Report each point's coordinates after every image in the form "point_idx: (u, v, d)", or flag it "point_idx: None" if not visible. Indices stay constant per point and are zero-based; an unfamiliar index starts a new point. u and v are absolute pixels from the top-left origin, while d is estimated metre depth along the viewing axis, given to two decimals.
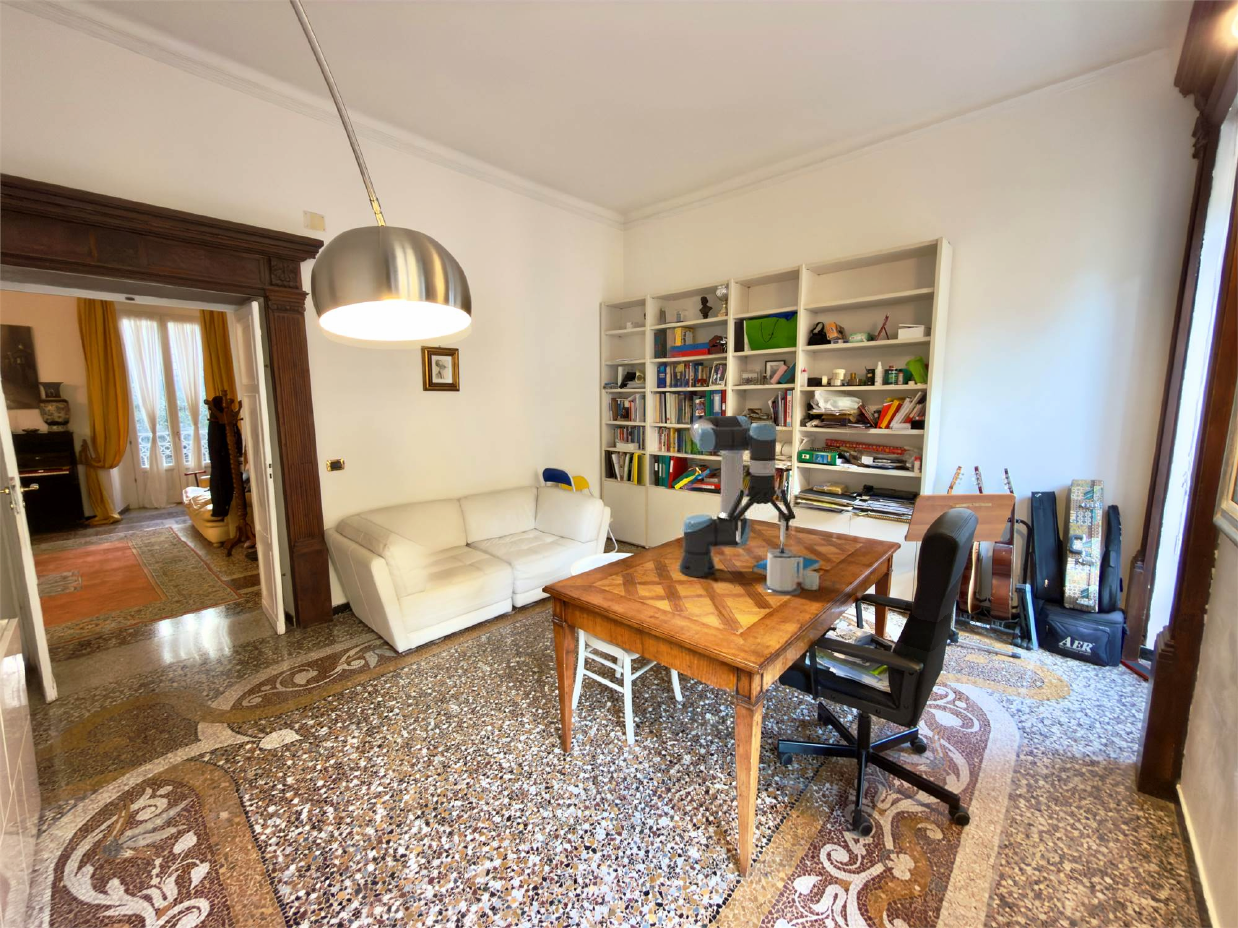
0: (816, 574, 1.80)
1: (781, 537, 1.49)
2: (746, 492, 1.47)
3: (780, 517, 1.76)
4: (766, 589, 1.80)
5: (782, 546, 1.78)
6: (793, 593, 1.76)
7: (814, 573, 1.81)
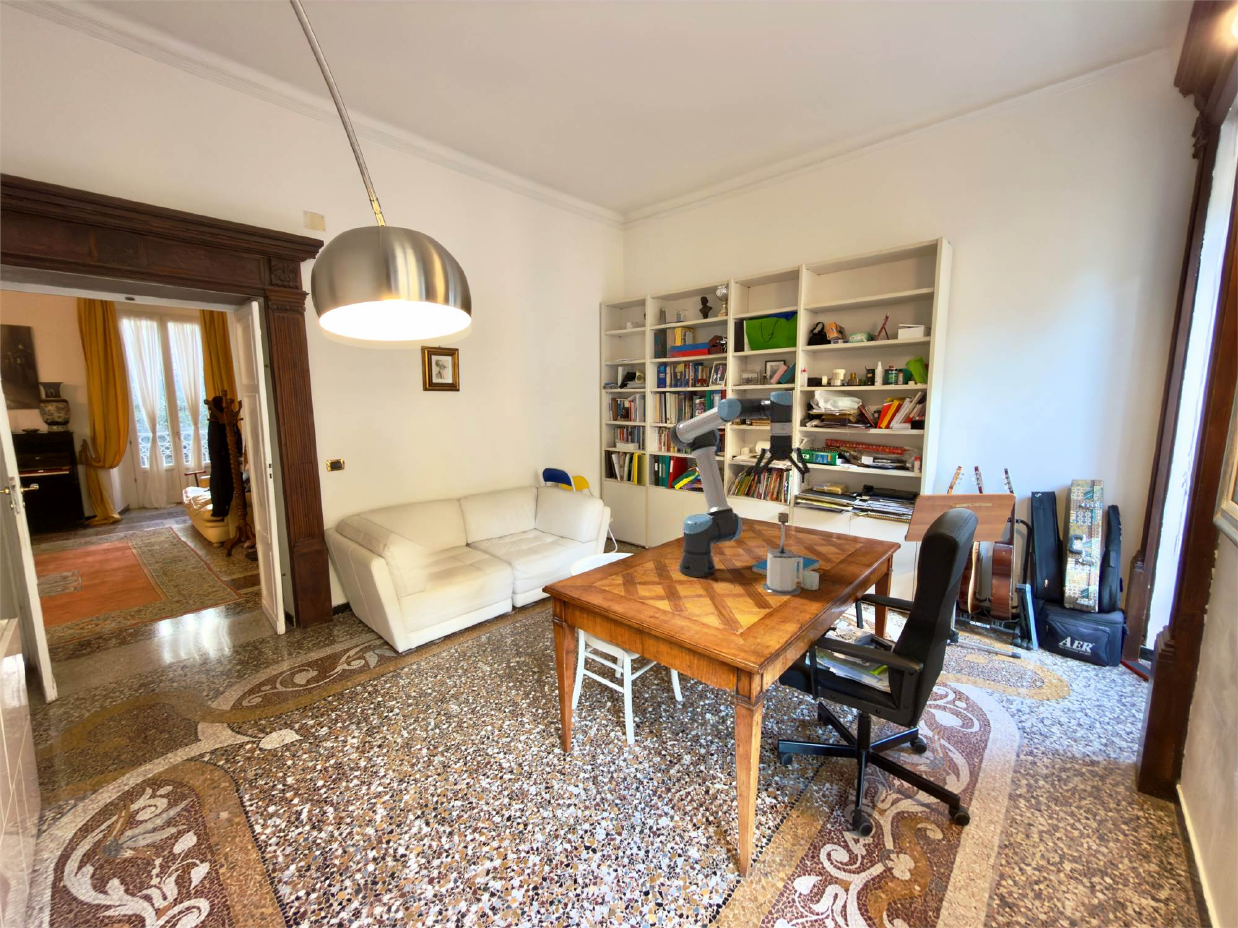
0: (816, 574, 1.80)
1: (798, 489, 1.76)
2: (767, 450, 1.74)
3: (780, 517, 1.76)
4: (766, 589, 1.80)
5: (782, 546, 1.78)
6: (793, 593, 1.76)
7: (814, 573, 1.81)
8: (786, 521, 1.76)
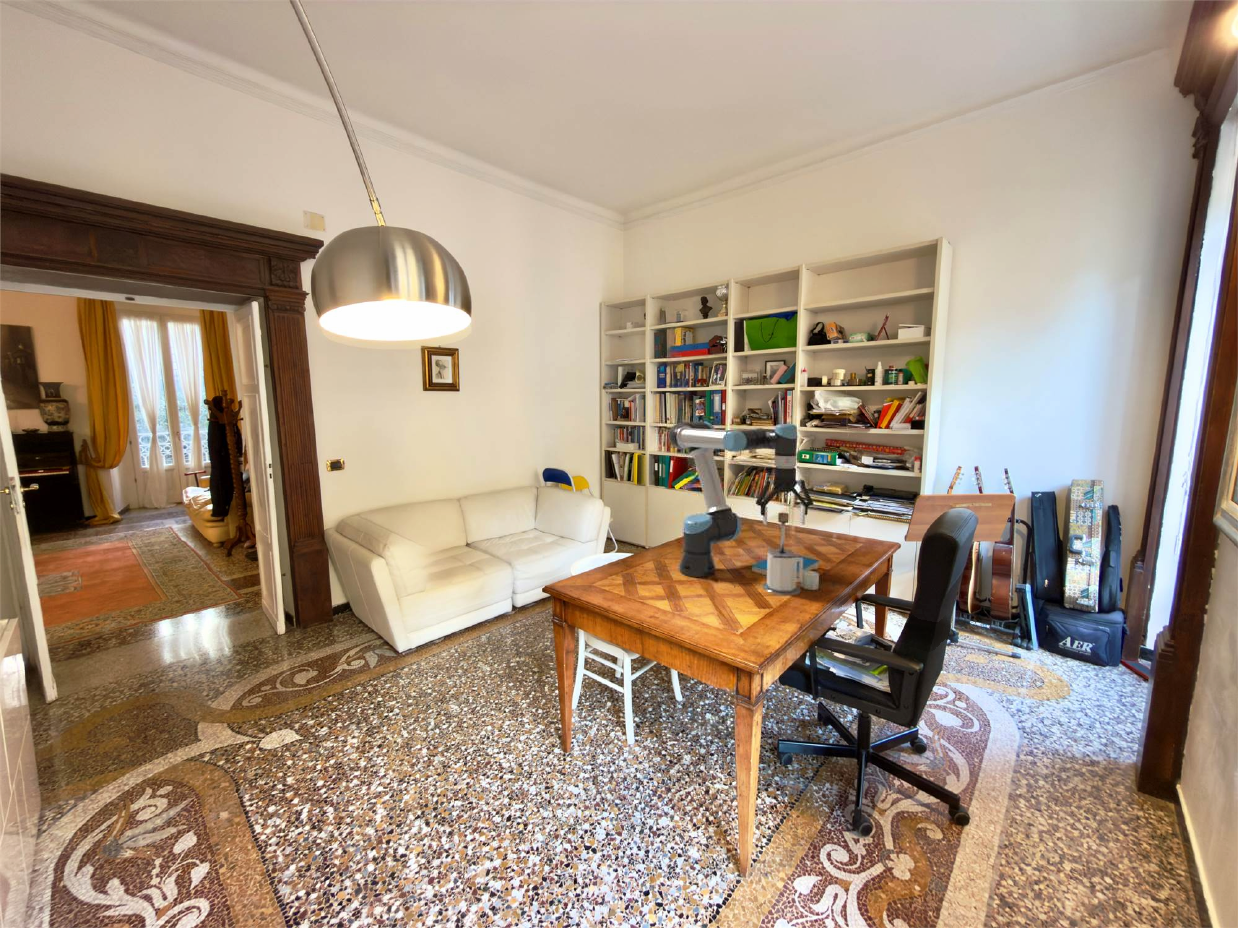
0: (816, 574, 1.80)
1: (801, 520, 1.77)
2: (772, 482, 1.75)
3: (780, 517, 1.76)
4: (766, 589, 1.80)
5: (782, 546, 1.78)
6: (793, 593, 1.76)
7: (814, 573, 1.81)
8: (786, 521, 1.76)
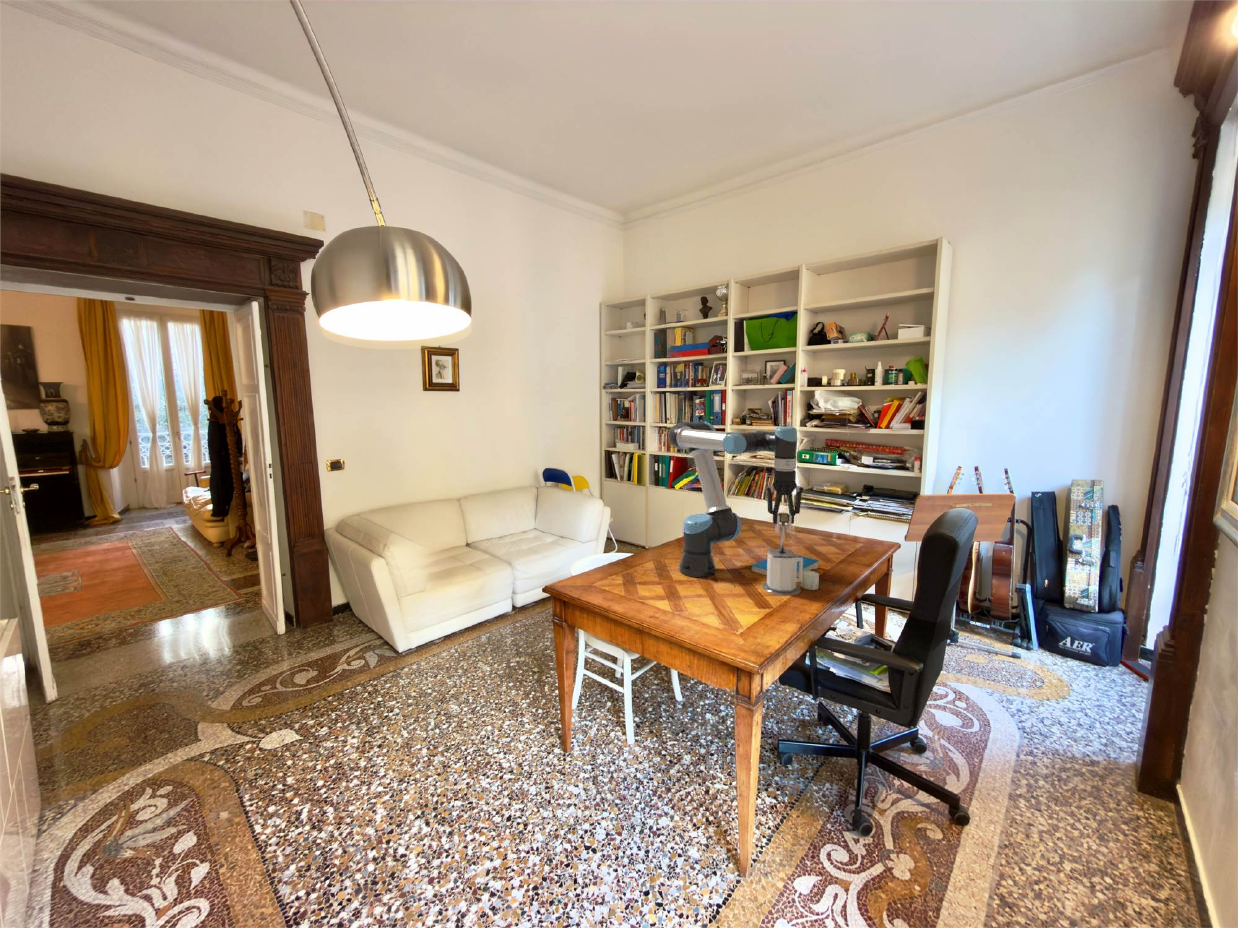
0: (816, 574, 1.80)
1: (787, 529, 1.78)
2: (772, 487, 1.76)
3: (780, 517, 1.76)
4: (766, 589, 1.80)
5: (782, 546, 1.78)
6: (793, 593, 1.76)
7: (814, 573, 1.81)
8: (786, 521, 1.76)
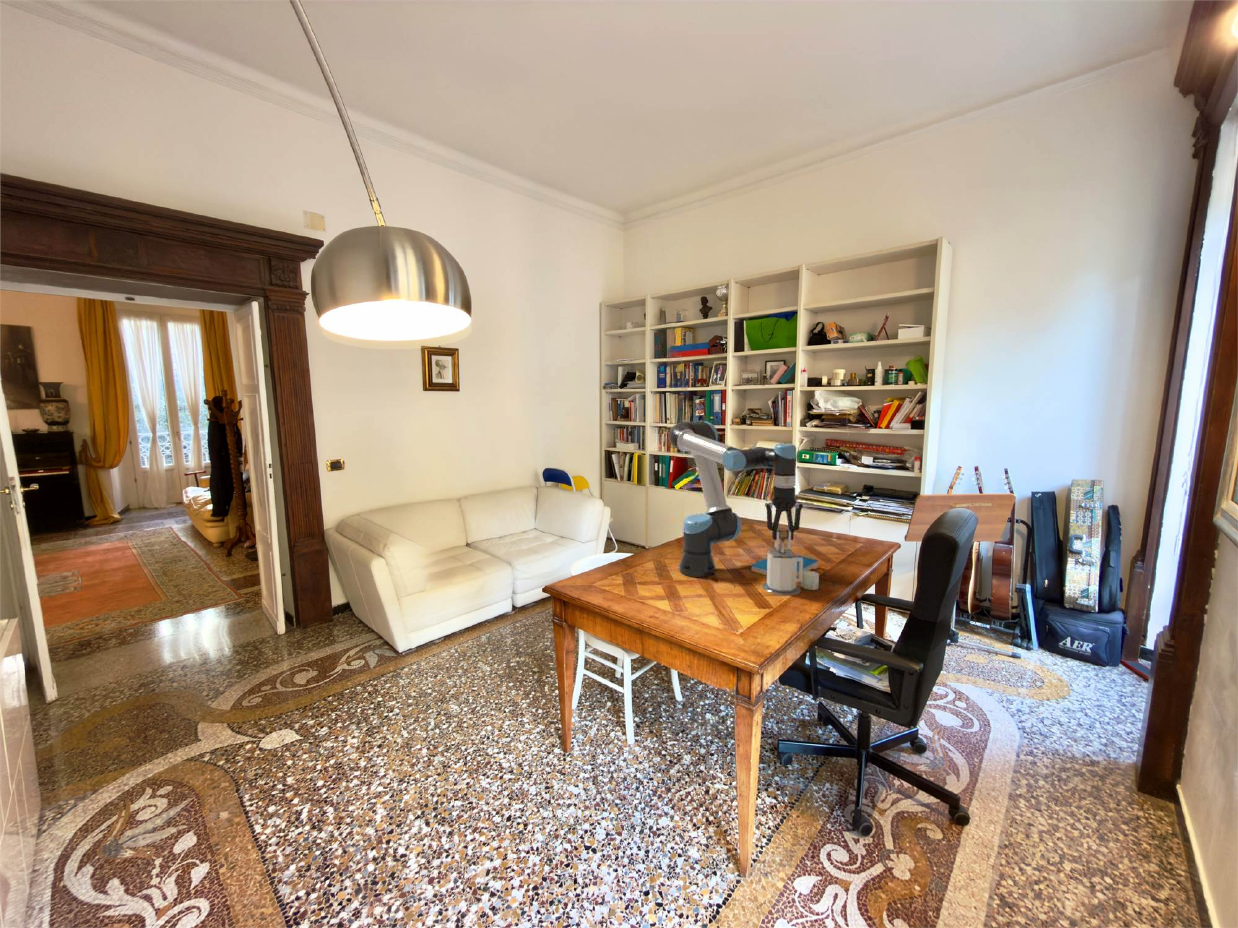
0: (816, 574, 1.80)
1: (787, 545, 1.79)
2: (771, 504, 1.76)
3: (779, 533, 1.77)
4: (766, 589, 1.80)
5: None
6: (793, 593, 1.76)
7: (814, 573, 1.81)
8: (785, 537, 1.77)
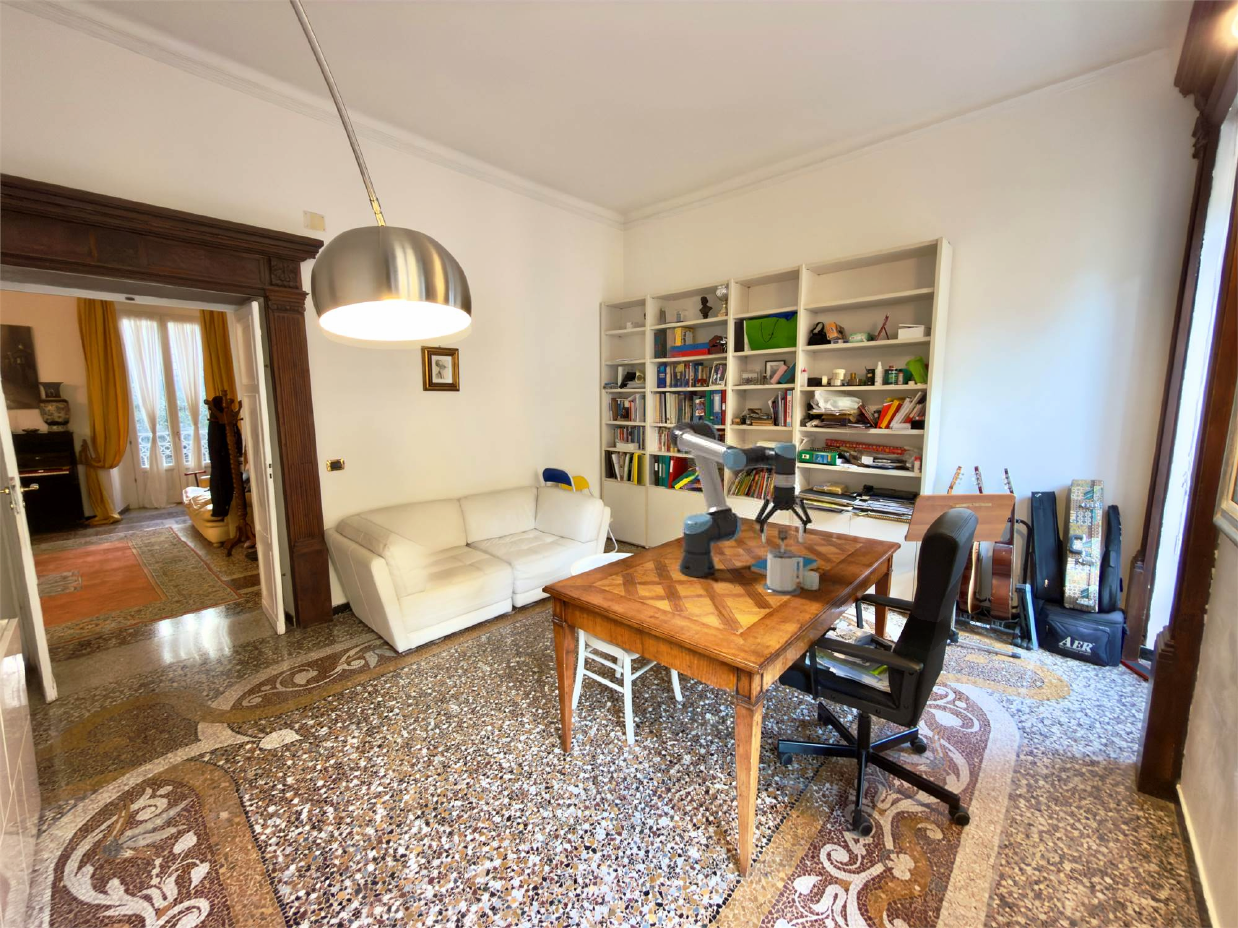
0: (816, 574, 1.80)
1: (799, 538, 1.78)
2: (771, 501, 1.76)
3: (779, 534, 1.77)
4: (766, 589, 1.80)
5: None
6: (793, 593, 1.76)
7: (814, 573, 1.81)
8: (785, 538, 1.77)
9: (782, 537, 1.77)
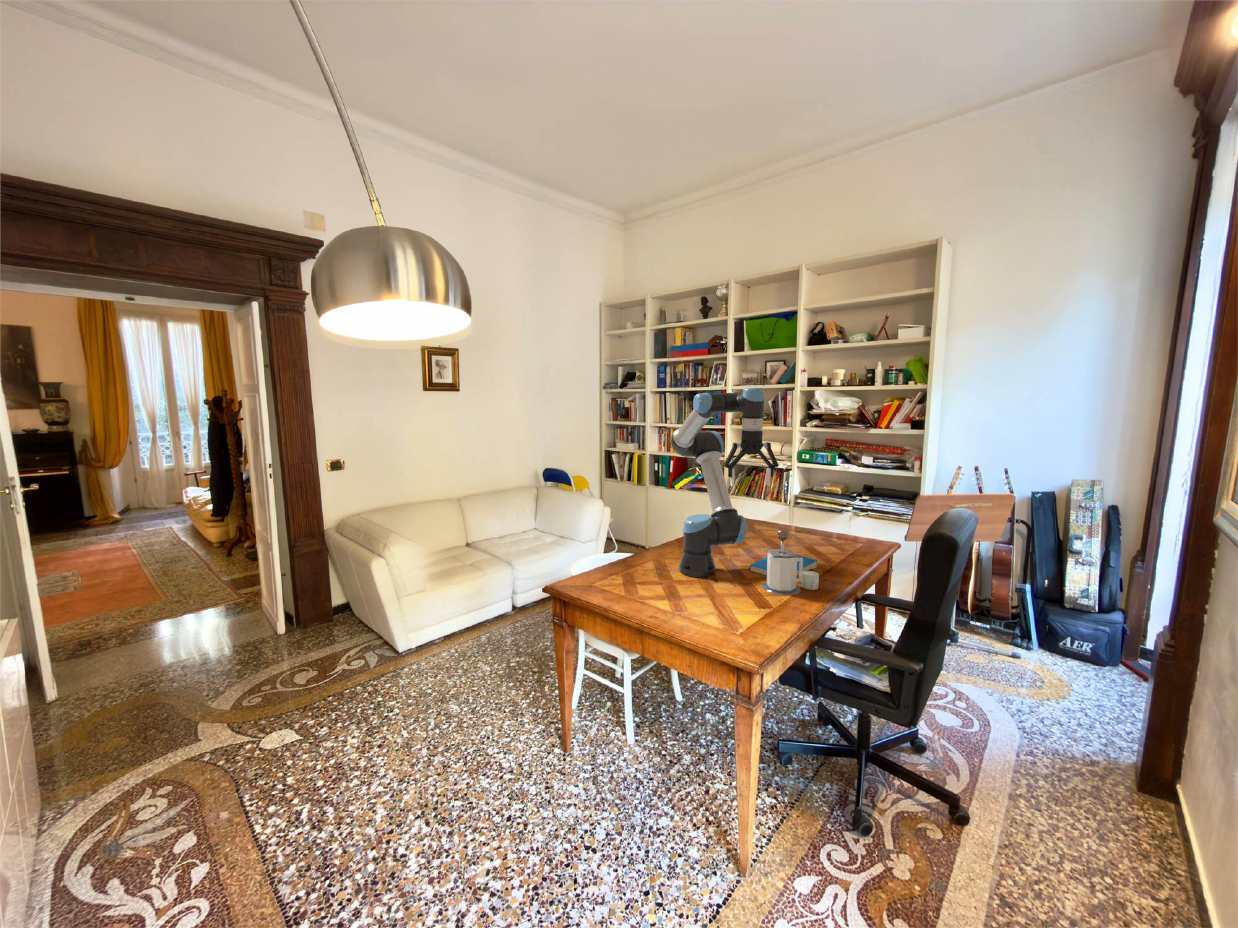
0: (816, 574, 1.80)
1: (767, 482, 1.82)
2: (739, 445, 1.79)
3: (779, 534, 1.77)
4: (766, 589, 1.80)
5: None
6: (793, 593, 1.76)
7: (814, 573, 1.81)
8: (785, 538, 1.77)
9: (782, 537, 1.77)
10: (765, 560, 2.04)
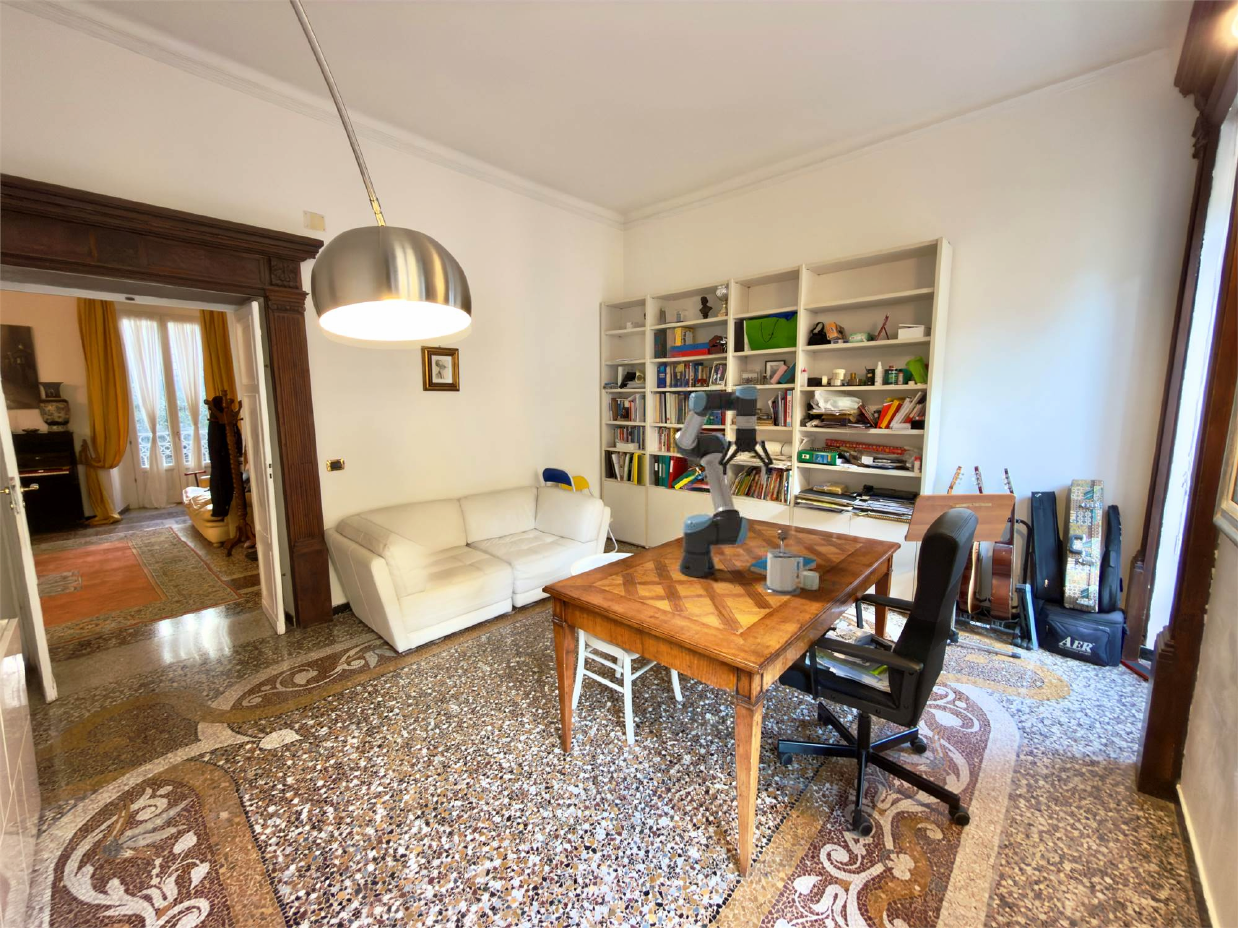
0: (816, 574, 1.80)
1: (762, 480, 1.82)
2: (733, 443, 1.80)
3: (779, 534, 1.77)
4: (766, 589, 1.80)
5: None
6: (793, 593, 1.76)
7: (814, 573, 1.81)
8: (785, 538, 1.77)
9: (782, 537, 1.77)
10: (765, 560, 2.04)
